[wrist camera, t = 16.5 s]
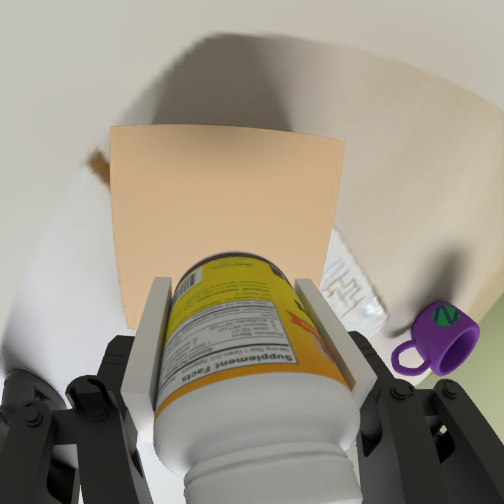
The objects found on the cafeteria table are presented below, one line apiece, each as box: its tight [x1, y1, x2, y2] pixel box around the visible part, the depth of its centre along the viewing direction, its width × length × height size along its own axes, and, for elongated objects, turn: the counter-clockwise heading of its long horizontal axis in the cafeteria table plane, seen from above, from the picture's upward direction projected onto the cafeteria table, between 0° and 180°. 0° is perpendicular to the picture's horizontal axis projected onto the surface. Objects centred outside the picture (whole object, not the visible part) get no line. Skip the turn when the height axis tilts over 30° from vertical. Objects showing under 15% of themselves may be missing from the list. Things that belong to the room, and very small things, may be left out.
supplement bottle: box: [153, 251, 363, 504], centre depth 8 cm, size 6×6×10 cm
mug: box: [391, 301, 480, 376], centre depth 40 cm, size 17×11×10 cm, turn 110°
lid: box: [110, 124, 346, 329], centre depth 20 cm, size 16×16×1 cm
